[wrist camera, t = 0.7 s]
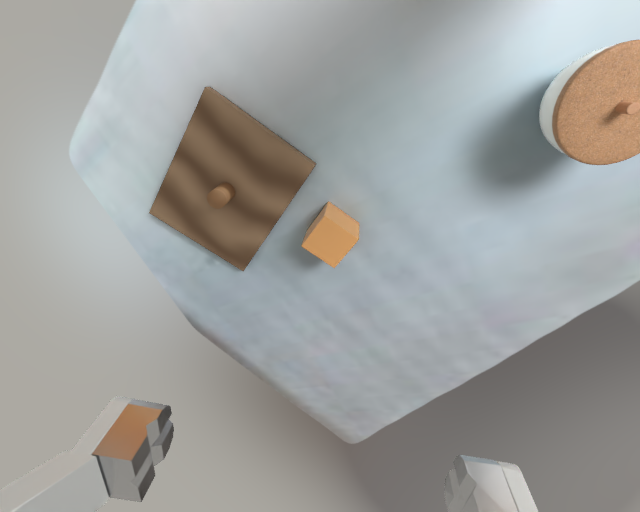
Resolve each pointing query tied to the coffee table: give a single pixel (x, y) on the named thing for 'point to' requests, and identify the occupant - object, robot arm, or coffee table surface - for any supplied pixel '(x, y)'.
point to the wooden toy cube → (331, 235)
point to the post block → (229, 180)
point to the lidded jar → (596, 106)
